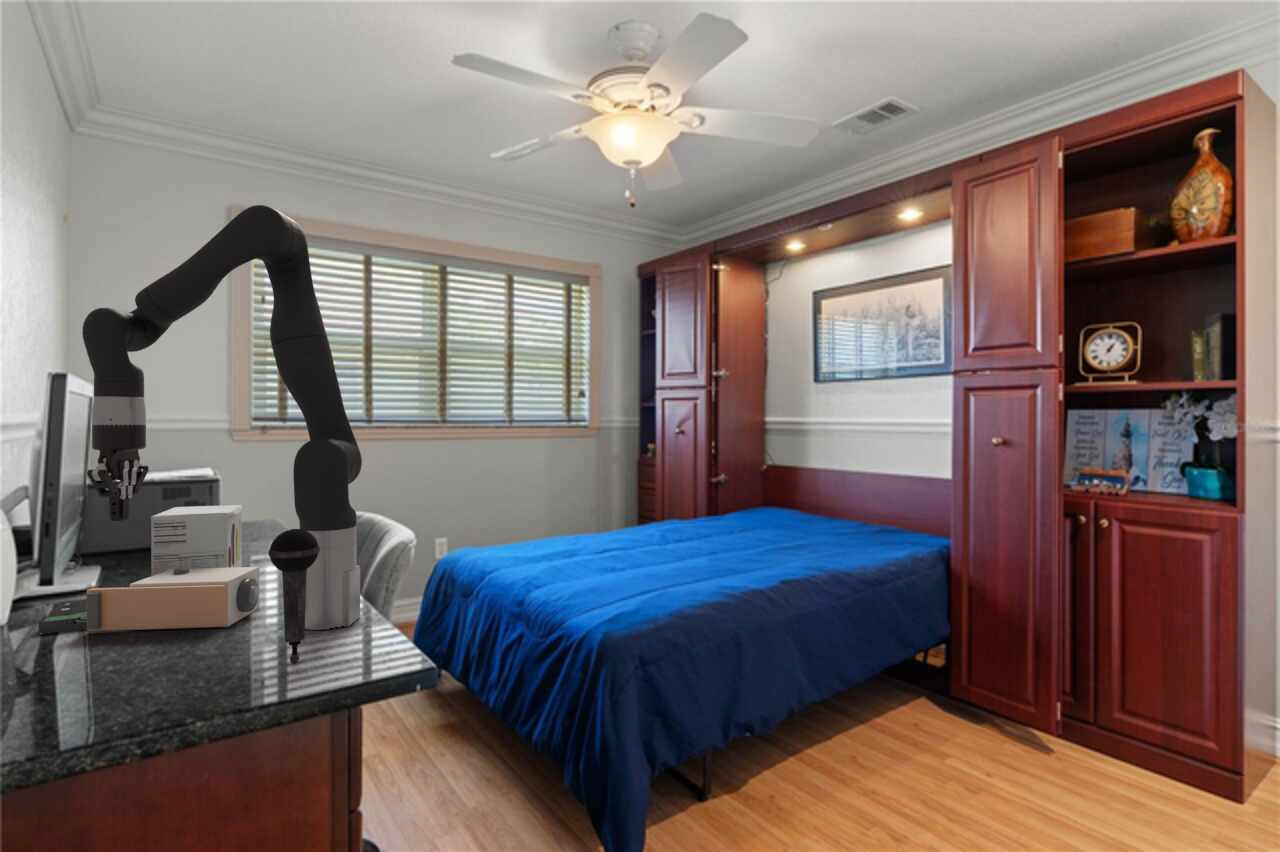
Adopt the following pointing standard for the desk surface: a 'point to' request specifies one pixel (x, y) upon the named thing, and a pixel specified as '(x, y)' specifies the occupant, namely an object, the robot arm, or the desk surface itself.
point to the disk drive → (65, 618)
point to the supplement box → (196, 538)
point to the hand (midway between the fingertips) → (119, 520)
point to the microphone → (294, 579)
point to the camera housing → (237, 579)
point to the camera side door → (156, 607)
